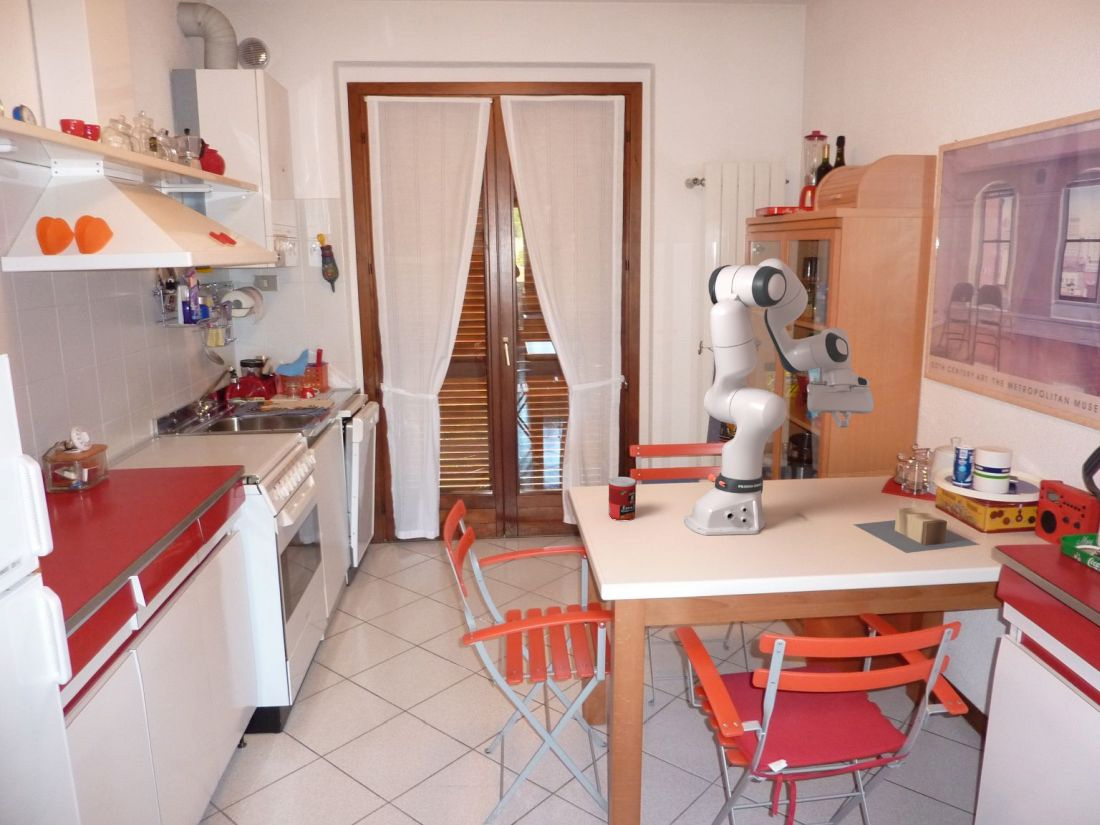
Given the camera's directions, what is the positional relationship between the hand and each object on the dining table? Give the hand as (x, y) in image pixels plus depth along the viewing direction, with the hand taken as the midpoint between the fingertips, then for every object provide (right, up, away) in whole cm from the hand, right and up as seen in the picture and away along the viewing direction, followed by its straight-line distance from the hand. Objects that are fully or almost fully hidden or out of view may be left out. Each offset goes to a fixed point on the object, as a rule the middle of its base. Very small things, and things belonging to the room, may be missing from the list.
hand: (843, 427), depth 237 cm
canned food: (-66, -26, -5) cm, 71 cm away
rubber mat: (+11, -29, -22) cm, 38 cm away
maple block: (+10, -25, -19) cm, 32 cm away
